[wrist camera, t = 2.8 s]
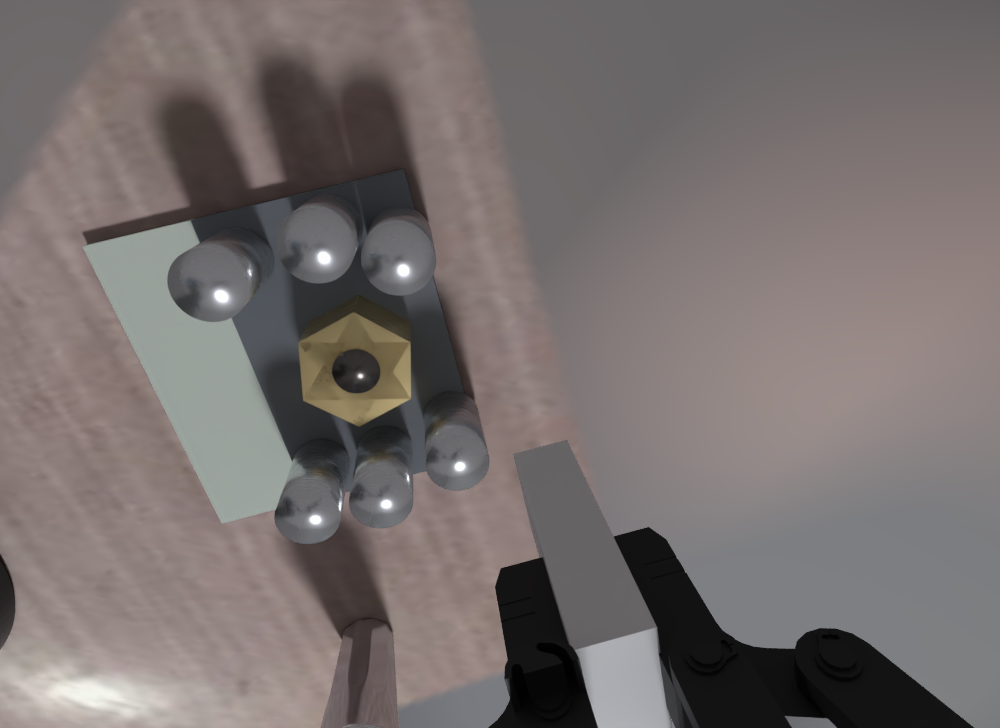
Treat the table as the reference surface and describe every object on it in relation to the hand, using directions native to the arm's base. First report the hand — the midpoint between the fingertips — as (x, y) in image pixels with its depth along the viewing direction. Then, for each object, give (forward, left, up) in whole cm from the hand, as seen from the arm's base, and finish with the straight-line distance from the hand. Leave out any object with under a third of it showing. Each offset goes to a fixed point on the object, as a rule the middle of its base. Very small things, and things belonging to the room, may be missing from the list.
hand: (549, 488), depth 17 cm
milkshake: (-13, -19, -16) cm, 28 cm away
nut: (-7, 0, -16) cm, 17 cm away
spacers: (-7, 0, -16) cm, 17 cm away
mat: (-10, 0, -16) cm, 19 cm away
